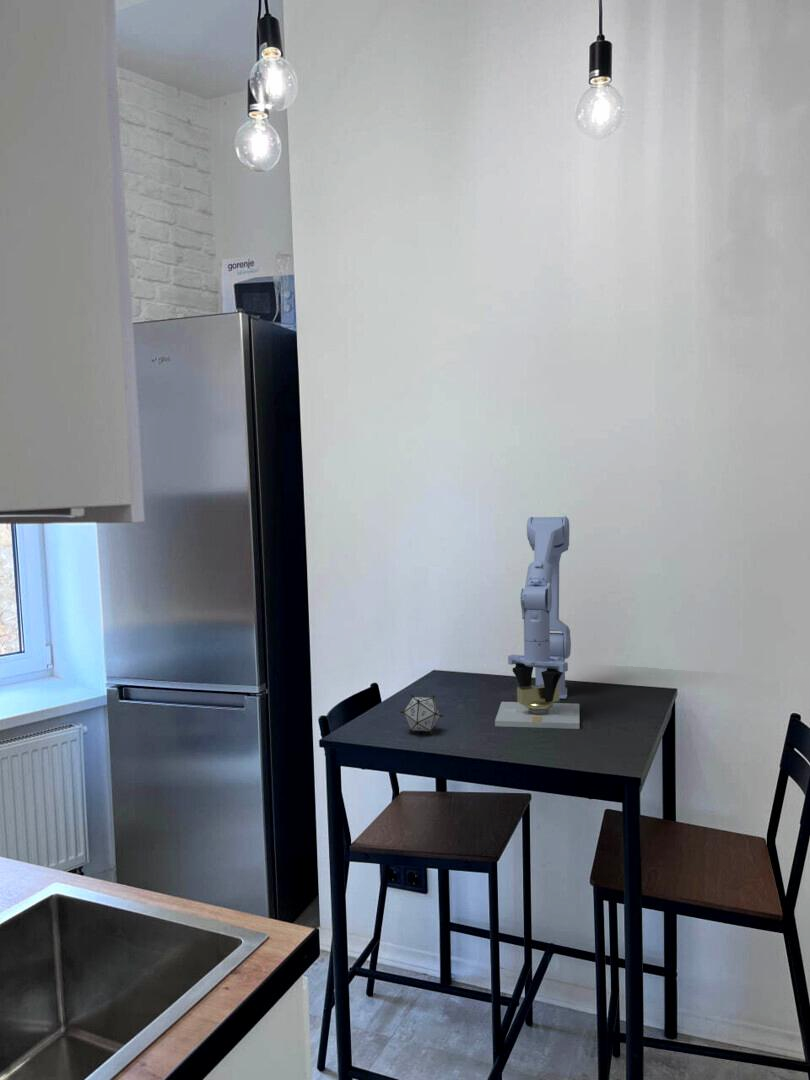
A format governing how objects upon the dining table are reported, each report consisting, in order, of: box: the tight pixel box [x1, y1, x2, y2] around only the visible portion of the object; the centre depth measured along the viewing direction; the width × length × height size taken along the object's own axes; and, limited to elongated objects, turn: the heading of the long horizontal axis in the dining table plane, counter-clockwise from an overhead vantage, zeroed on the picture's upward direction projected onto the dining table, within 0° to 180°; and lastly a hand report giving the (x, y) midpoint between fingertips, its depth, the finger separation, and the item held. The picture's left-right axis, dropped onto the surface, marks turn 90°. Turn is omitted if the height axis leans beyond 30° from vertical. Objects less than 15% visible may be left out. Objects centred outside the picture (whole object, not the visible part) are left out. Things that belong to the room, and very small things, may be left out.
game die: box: [399, 693, 444, 736], centre depth 180 cm, size 9×8×10 cm
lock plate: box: [494, 701, 581, 730], centre depth 189 cm, size 16×18×2 cm
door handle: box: [516, 684, 560, 709], centre depth 189 cm, size 6×9×4 cm
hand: (537, 699), depth 189 cm, fingers closed on door handle, 5 cm apart
